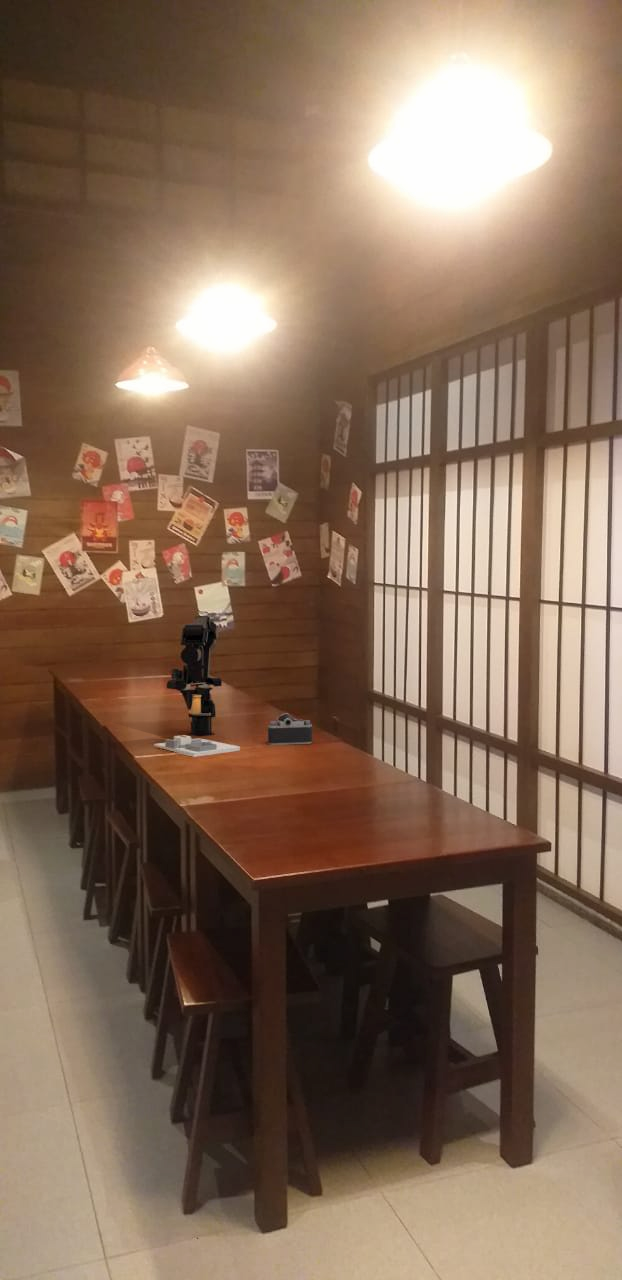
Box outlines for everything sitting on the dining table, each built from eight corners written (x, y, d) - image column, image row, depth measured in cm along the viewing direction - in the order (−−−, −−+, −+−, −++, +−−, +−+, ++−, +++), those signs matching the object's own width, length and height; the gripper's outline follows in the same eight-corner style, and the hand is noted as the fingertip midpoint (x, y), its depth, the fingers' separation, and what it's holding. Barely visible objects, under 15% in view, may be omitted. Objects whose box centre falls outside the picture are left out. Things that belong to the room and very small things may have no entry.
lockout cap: (196, 711, 328) (196, 694, 328) (204, 713, 325) (204, 695, 324) (184, 712, 325) (184, 694, 325) (193, 714, 321) (193, 696, 321)
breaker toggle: (183, 744, 318) (183, 734, 317) (191, 745, 315) (191, 736, 315) (173, 745, 315) (173, 735, 315) (180, 747, 312) (180, 737, 312)
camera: (308, 739, 336) (308, 710, 336) (313, 743, 328) (314, 714, 328) (263, 741, 333) (264, 712, 332) (268, 745, 325) (268, 715, 324)
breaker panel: (199, 741, 330) (199, 731, 330) (239, 750, 314) (239, 739, 314) (154, 747, 318) (154, 736, 318) (194, 757, 302) (194, 745, 302)
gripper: (202, 659, 336) (202, 704, 337) (157, 662, 323) (157, 709, 324) (222, 661, 328) (222, 707, 329) (176, 664, 315) (176, 712, 316)
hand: (194, 709), depth 325 cm, fingers closed on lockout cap, 4 cm apart
